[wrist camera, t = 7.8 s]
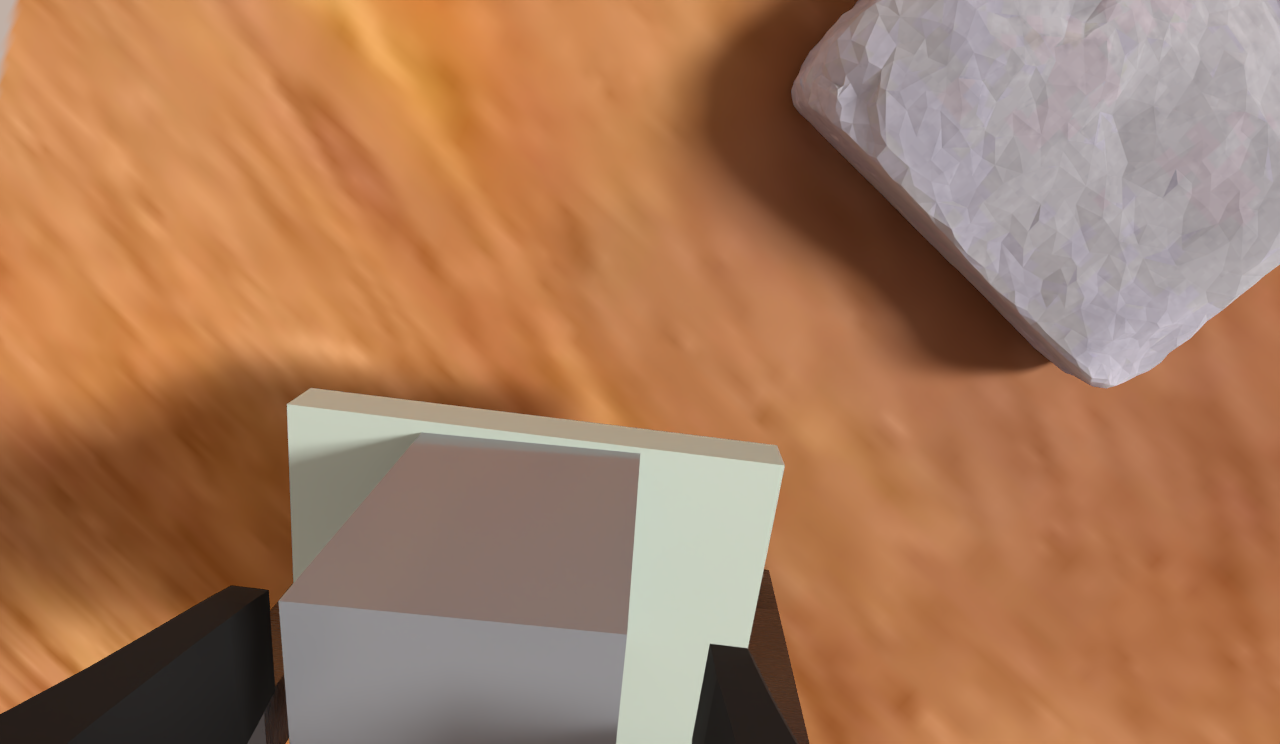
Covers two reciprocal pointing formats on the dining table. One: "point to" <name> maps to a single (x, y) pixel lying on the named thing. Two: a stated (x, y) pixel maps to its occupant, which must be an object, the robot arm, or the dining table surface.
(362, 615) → the grey rectangular block
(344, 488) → the trapdoor
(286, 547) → the dining table surface
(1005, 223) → the stone block
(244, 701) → the robot arm
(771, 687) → the frame
